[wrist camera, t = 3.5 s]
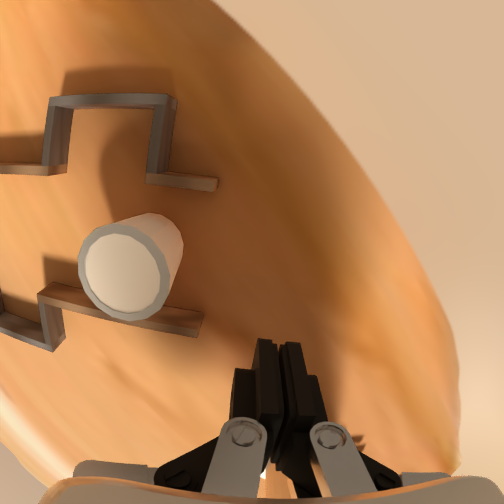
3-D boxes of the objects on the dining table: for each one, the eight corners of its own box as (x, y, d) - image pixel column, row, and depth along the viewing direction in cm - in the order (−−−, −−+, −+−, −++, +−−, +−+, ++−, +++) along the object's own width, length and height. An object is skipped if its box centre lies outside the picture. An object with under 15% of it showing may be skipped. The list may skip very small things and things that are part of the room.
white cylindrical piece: (194, 283, 26) (176, 324, 20) (121, 282, 27) (87, 319, 20) (188, 203, 24) (164, 221, 18) (111, 207, 24) (69, 226, 18)
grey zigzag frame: (230, 105, 22) (225, 96, 18) (198, 368, 29) (192, 395, 25) (-35, 115, 21) (-57, 115, 17) (-26, 304, 28) (-44, 316, 24)
